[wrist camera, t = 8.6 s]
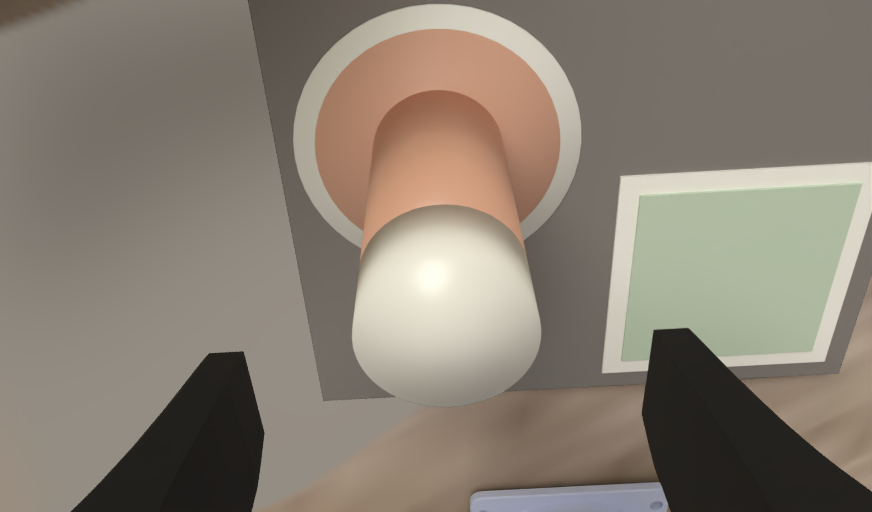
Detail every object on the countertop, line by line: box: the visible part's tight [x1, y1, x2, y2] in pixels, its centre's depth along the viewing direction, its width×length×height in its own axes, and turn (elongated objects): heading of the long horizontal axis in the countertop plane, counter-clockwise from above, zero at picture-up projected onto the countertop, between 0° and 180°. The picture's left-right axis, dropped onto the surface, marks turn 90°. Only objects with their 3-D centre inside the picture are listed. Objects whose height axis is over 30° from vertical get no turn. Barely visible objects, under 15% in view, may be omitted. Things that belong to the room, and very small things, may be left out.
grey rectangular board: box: [248, 0, 872, 401], centre depth 23 cm, size 14×18×1 cm
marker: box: [352, 90, 541, 407], centre depth 18 cm, size 4×4×8 cm
